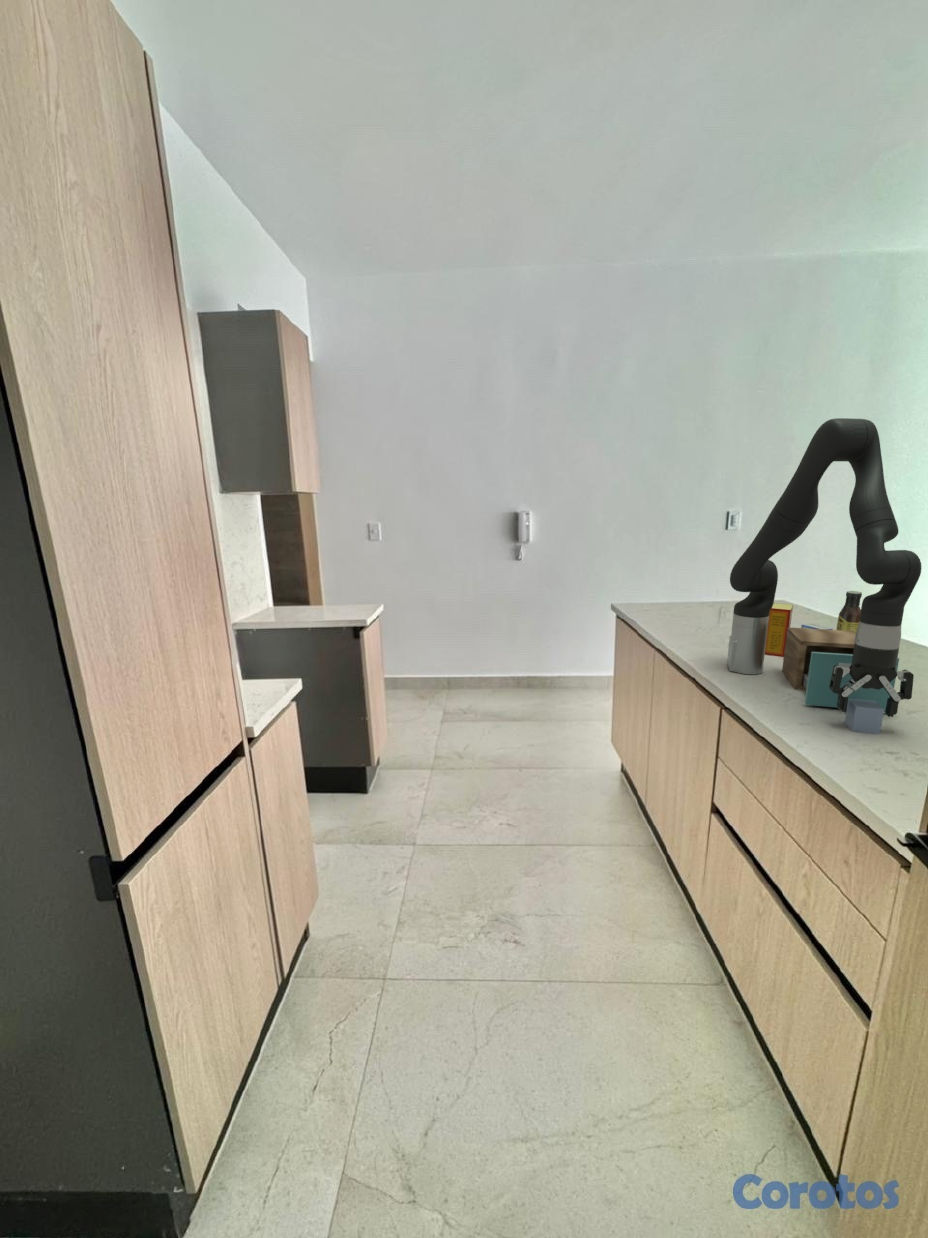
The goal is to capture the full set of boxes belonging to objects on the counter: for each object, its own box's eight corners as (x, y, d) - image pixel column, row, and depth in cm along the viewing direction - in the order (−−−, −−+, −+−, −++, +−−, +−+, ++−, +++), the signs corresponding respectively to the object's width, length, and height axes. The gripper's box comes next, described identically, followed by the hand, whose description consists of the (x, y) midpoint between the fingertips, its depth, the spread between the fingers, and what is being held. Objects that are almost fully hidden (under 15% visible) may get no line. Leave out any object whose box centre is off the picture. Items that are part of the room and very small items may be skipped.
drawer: (805, 704, 125) (813, 653, 122) (790, 683, 139) (797, 637, 136) (889, 712, 119) (899, 659, 116) (865, 690, 133) (873, 641, 130)
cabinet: (794, 689, 137) (801, 641, 134) (781, 671, 150) (787, 627, 147) (866, 695, 131) (874, 645, 128) (846, 676, 145) (853, 630, 142)
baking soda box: (765, 647, 174) (770, 601, 170) (787, 649, 170) (793, 603, 166) (761, 654, 167) (767, 606, 163) (784, 657, 163) (790, 609, 159)
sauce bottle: (834, 646, 173) (842, 589, 168) (857, 649, 169) (866, 591, 164) (832, 651, 168) (841, 592, 163) (856, 654, 164) (865, 594, 159)
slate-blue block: (852, 731, 112) (856, 706, 111) (844, 722, 117) (848, 698, 115) (879, 734, 110) (884, 709, 109) (870, 725, 115) (875, 700, 113)
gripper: (843, 645, 108) (833, 716, 111) (926, 650, 103) (913, 724, 106) (831, 636, 115) (822, 703, 118) (909, 640, 110) (897, 710, 113)
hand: (865, 713), depth 112 cm, fingers open, 8 cm apart
